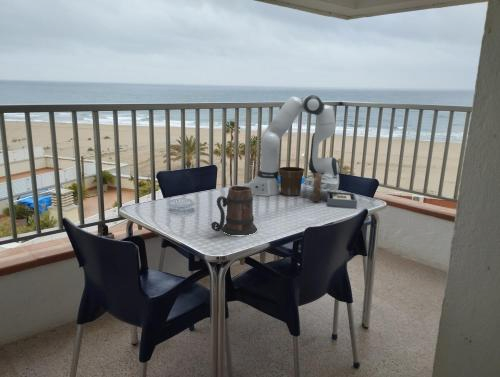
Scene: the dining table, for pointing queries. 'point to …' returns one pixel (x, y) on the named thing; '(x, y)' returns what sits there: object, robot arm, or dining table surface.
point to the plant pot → (291, 180)
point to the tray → (341, 200)
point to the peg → (317, 187)
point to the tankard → (236, 212)
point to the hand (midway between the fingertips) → (316, 185)
